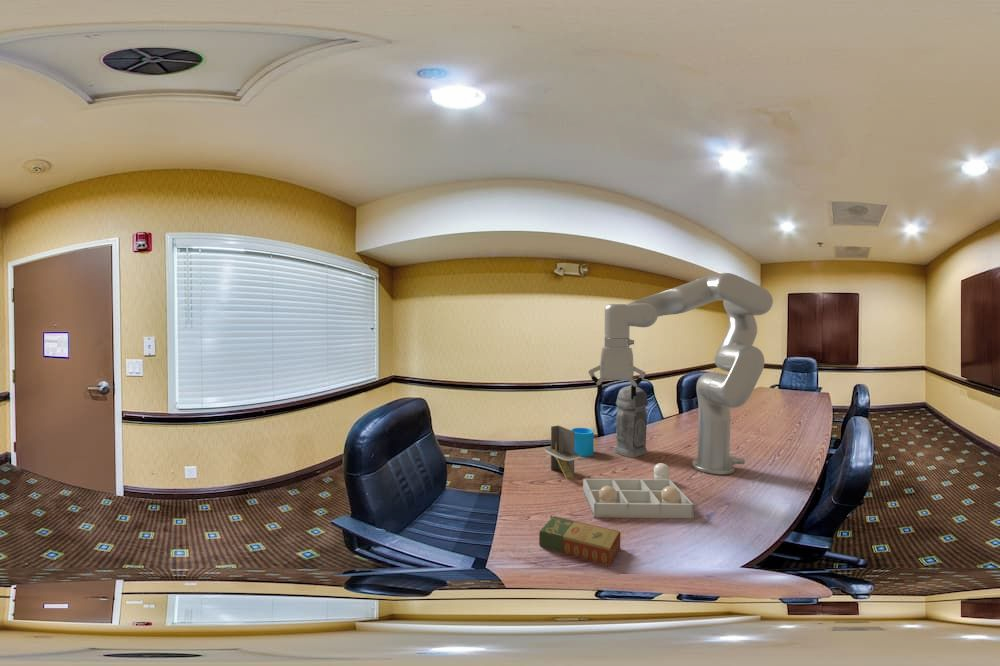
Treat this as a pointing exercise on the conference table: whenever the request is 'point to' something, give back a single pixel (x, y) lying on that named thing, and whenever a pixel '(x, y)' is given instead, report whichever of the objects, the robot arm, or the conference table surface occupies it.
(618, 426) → the figurine
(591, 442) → the mug
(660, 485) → the egg tray
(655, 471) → the loose egg
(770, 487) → the conference table surface
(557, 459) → the toy chair
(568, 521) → the carton
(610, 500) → the egg in carton
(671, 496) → the egg in carton
